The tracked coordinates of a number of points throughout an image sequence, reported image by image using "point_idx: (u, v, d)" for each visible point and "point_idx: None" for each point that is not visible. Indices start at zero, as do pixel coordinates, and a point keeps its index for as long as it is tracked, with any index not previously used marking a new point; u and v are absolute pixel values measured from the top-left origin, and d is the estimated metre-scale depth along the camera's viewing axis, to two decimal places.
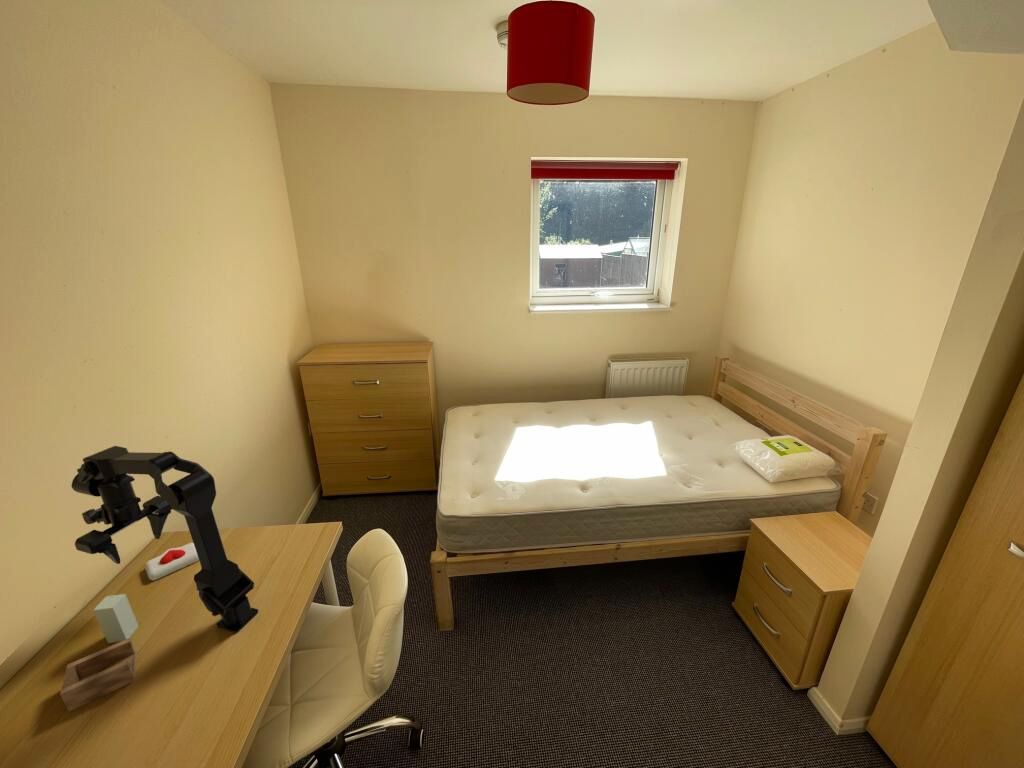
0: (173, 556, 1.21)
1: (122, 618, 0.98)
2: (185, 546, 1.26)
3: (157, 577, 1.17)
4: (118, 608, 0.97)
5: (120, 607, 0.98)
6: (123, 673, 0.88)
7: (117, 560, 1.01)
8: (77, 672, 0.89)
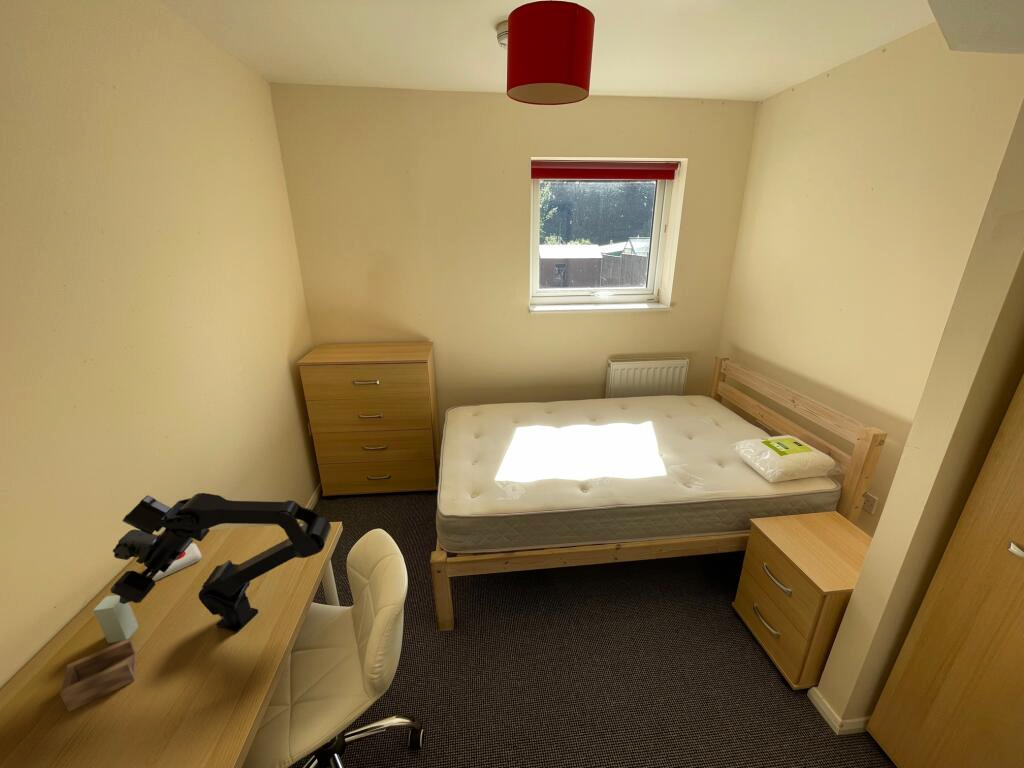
0: None
1: (122, 618, 0.98)
2: None
3: (157, 578, 1.16)
4: (117, 608, 0.97)
5: (120, 607, 0.98)
6: (123, 673, 0.88)
7: None
8: (77, 672, 0.89)
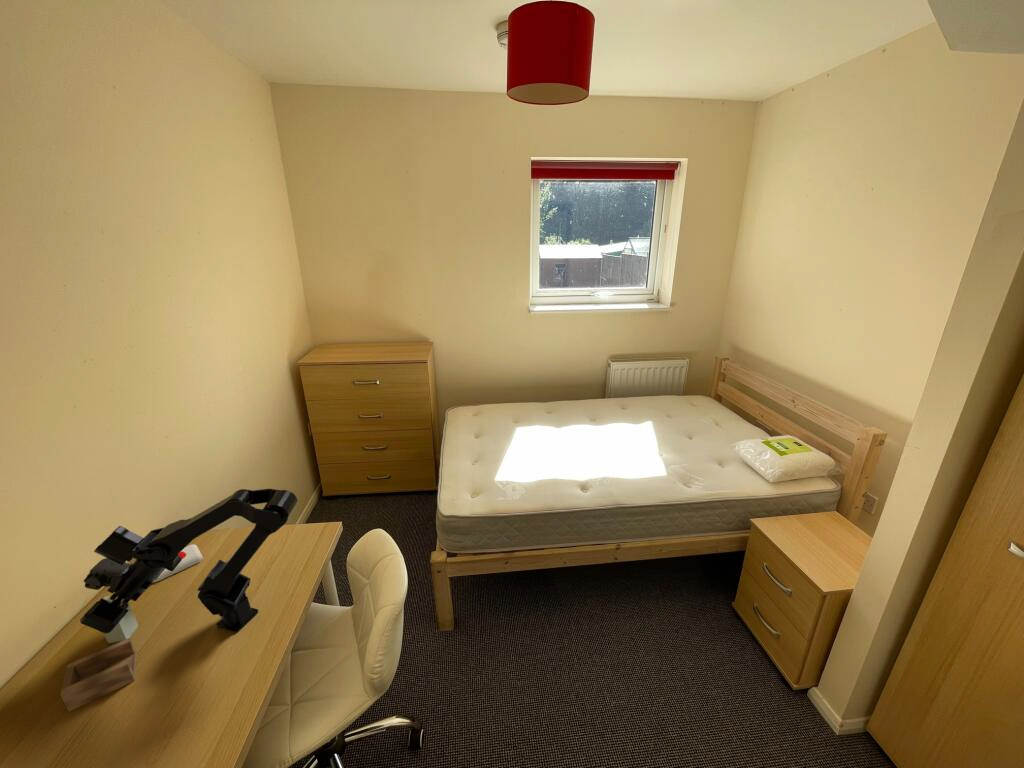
0: None
1: None
2: (186, 548, 1.25)
3: (158, 579, 1.16)
4: None
5: None
6: (123, 673, 0.88)
7: None
8: (77, 672, 0.89)
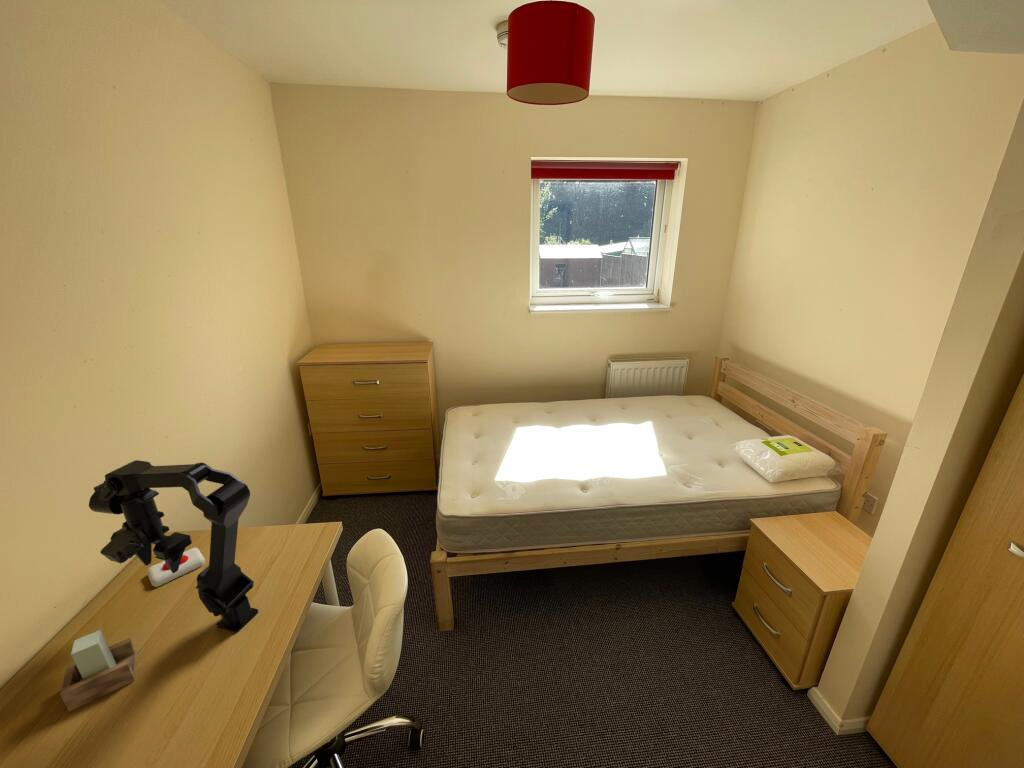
0: None
1: (106, 655, 0.88)
2: (188, 551, 1.24)
3: (160, 583, 1.14)
4: (100, 644, 0.87)
5: (102, 643, 0.88)
6: (123, 673, 0.88)
7: None
8: (77, 672, 0.89)
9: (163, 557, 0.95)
